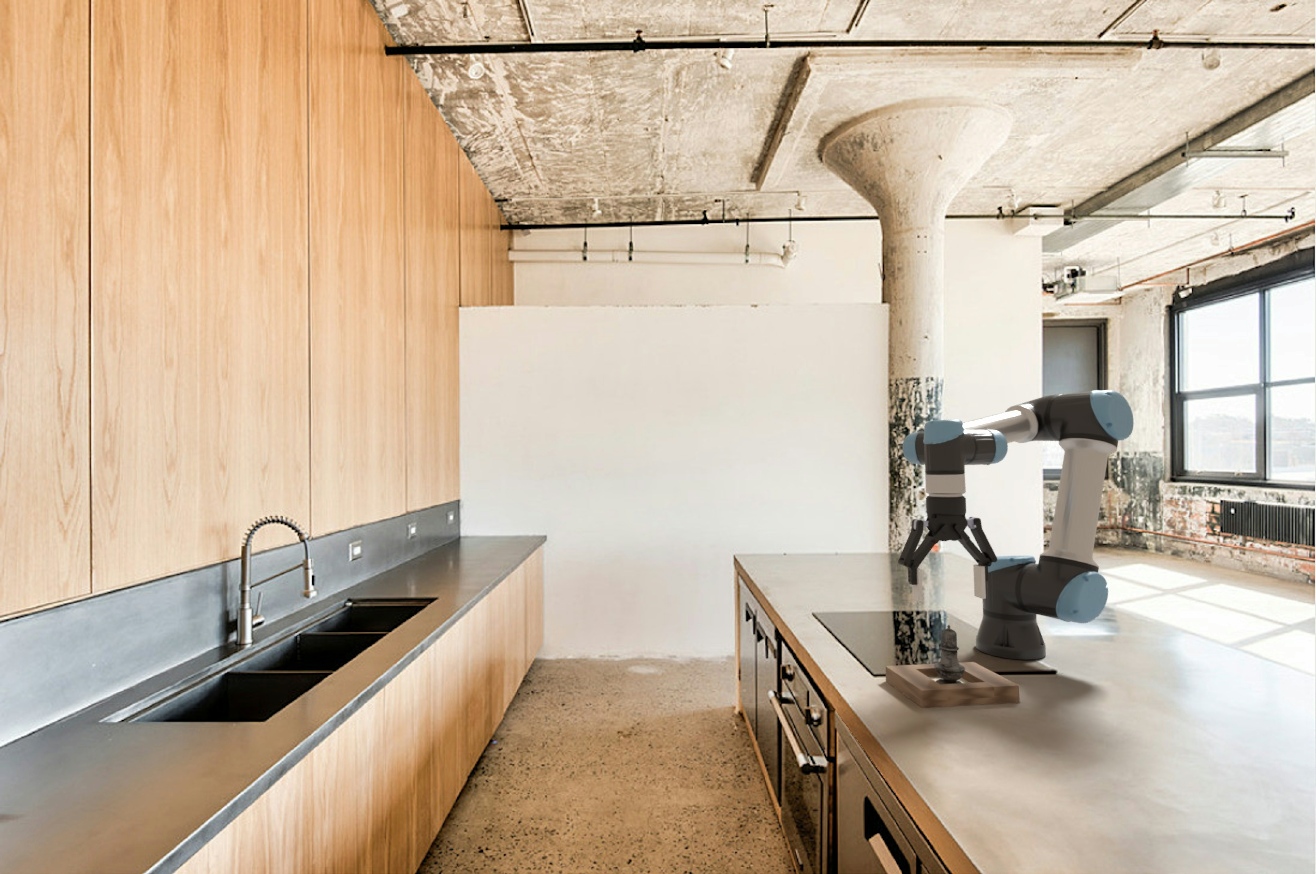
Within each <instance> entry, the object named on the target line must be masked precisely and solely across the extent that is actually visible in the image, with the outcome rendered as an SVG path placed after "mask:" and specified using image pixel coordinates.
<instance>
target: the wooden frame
mask: <svg viewBox="0 0 1316 874" xmlns="http://www.w3.org/2000/svg"><path fill="white" fill-rule="evenodd" d="M934 664H935V663H925V664H924V663H923V664H903V665H901V664H900V665H885V682H886V683H888V684H889V685H890V686H892V688H895V689H896V690H897V691H898V692H900V693H901V694H903V695H905V696H906V697H907V698H908V699H910V700H912V701H913V702H914V703H916V704H917V705H918V707H921V708H936V707H937V708H940V707H957V706H960V707H961V706H975V705H976V706H977V705H990V704H991V705H993V704H1010V703H1012V704H1013V703H1020V701H1021V699H1020V698H1021V696H1020V684H1017V683H1015V682H1013V681H1011V680H1009V679H1007V678H1005V677H1004V676H1002V675H999V674H998V673H996V672H994V671H992V670H990V669H988V668H986V667H984V666H983V665H980V664H978V663H976V662H975V661H965V662H964V661H963V662H959V664H960V665H962V666H964V667H965V670H964V673H963V676H962V678H960V679H959V680H958V681H960V682H961V683H958V684H939V683H937V682H936V681H937V680H939V679H941V677H940V676H939V675H938V674H937V672H936V667H934Z"/></svg>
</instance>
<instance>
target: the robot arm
mask: <svg viewBox="0 0 1316 874" xmlns="http://www.w3.org/2000/svg"><path fill="white" fill-rule="evenodd" d="M1134 424H1135V423H1134V415H1133V411H1132V409H1131V406H1130V404H1129V402H1128V400H1127V399H1126V398H1125V396H1123V395H1122V394H1121V393H1120V392H1118V391H1116V390H1112V389H1110V390H1109V389H1105V390H1102V389H1101V390H1099V389H1095V390H1091V391H1090V390H1089V391H1080V392H1079V391H1078V392H1070V393H1060V394H1059V393H1057V394H1056V393H1055V394H1049V395H1046V396H1045V395H1044V396H1042V397H1038V398H1034V399H1032V400H1028V401H1026V402H1022V403H1019V404H1016V405H1013V406H1010V407H1008V408H1007V409H1006V410H1005V411H1004V412H1000V413H997V414H992V415H989V416H985V417H980V418H977V419H973V420H968V421H964V422H963V421H962V420H960V419H936V420H934V419H933V420H928V421H926V423H924V426H923V429H924V430H923V431H921V430H920V431H918V432H911V433H908V435H906V436H905V438H904V440H903V442H902V454H903V456H904V458H905V459H906V460H907V462H909V463H910V464H914V465H920V466H924V467H925V468H924V469H925V470H924V472H925V474H924V476H925V478H924V479H925V492H926V494H928V495H927V496H926V497H925V509H926V510H925V511H926V516H927V517H926V519H925V520H922V519H917V518H913V519H912V522H911V530H910V532H909V534H908V537H907V539H906V542H905V544H904V546H903V549H902V550H901V553H900V556H899V558H898V561H897V562H898V564H899V565H901V566H902V567H903V566H904V567H906V568H907V578H908V579H907V582H908V584H910V585H911V589H912V590H911V592H912V600H914V601H916V602H918V603H923V601H924V598H923V595H924V594H923V569H921V568H919V567H920V565H921V564H922V563H923V561H924V560H925V558H926V557H927V556H928V554H929V553H930V552H931V550H932V549H933V548H934V546H935V545H937V544H938V543H939V542H947V541H951V542H952V541H953V542H957V541H958V542H959V543H960V544H961V545H962V547H963V548H964V549H965V551H967V553H968V554H969V555H970V556H971V557H972V559H974V561H975V562H976V563H977V564H973V565H972V566H973V591H974V593H973V594H974V597H975V598H979V599H982V619H981V622H980V624H979V628H978V631H977V634H976V636H975V648H976V649H977V650H978V651H979V652H981V653H984V654H987V655H990V656H995V657H999V658H1004V659H1011V660H1012V659H1013V660H1027V661H1028V660H1039V659H1042V658H1045V657H1046V655H1047V647H1046V643H1045V640H1044V638H1043V635H1042V632H1041V630H1040V627H1039V625H1038V622H1037V621H1038V620H1037V616H1038V615H1039V616H1042V617H1043V616H1044V617H1047V618H1052V619H1055V620H1060V621H1063V622H1066V623H1077V624H1088V623H1091V622H1092V621H1094V620H1095V619H1096V618H1098V617H1099V616H1100V615H1101V614H1102V612H1103V611H1104V609H1105V607H1106V605H1107V601H1108V597H1109V588H1108V586H1107V585H1108V582H1107V580H1106V578H1105V576H1103V575H1102V574H1101V573H1099V568H1100V566H1099V565H1098V563H1097V562H1096V560H1094V558H1093V554H1094V549H1095V542H1096V535H1097V530H1098V522H1099V517H1100V516H1099V515H1100V509H1101V504H1102V503H1101V502H1102V496H1103V492H1104V491H1103V490H1104V484H1105V477H1106V472H1107V471H1106V470H1107V465H1108V458H1109V456H1111V455H1112V454H1114V453H1116V452H1117V450H1118V447H1119V446H1118V444H1119V441H1124V440H1125V439H1128V438H1129V437H1130V435H1131V434H1132V433H1133V430H1134ZM1035 441H1036V442H1043V441H1044V442H1047V441H1048V442H1058V445H1059V446H1060V447H1061V449H1062V450H1063V451H1064V454H1063V458H1062V459H1063V461H1062V465H1061V467H1062V468H1061V470H1060V471H1061V473H1060V478H1059V483H1058V491H1057V495H1056V497H1057V498H1056V500H1055V501H1056V502H1055V510H1054V514H1053V520H1052V527H1051V531H1050V539H1049V544H1048V549H1047V550H1045V551H1044V552H1041V553H1040V554H1039V559H1038V563H1037V560H1036V558H1035V556H1033V555H1003V556H1002V555H1000V556H997V555H996V553H995V551H994V549H993V547H992V545H991V543H990V542H989V539H988V537H987V535H986V534H985V532H984V530H983V526H982V520H981V518H980V517H976V516H975V517H974V516H970V517H968V518H966V513H967V501H966V499H967V498H966V496H964V494H966V490H967V489H966V477H965V476H966V471H965V469H966V468H965V467H966V466H978V465H984V466H985V465H986V466H990V465H993V464H998V463H1000V462H1001V461H1003V460H1004V459H1005V457H1006V456H1007V453H1008V447H1009V445H1008V444H1010V443H1013V442H1015V443H1018V444H1024V443H1025V444H1026V443H1028V442H1035ZM967 527H968V529H969V530H970V533H971V534H972V536H973V538H974V539H975V540H974V541H975V542H976V544H977V545H975V543H974V542H973V541H972V540H971V538H970V536H969V535H968V533H967V532H966V531H965V530H966V528H967ZM926 528H927V530H928V531H927V533H926V534H925V535H924V537H923V540H922V542H921V543H920V541H921V539H922V535H923V533H924V531H925V530H926ZM919 543H920V545H919ZM977 546H978V547H979V548H978V547H977Z"/></svg>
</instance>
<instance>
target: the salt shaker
mask: <svg viewBox="0 0 1316 874" xmlns="http://www.w3.org/2000/svg"><path fill="white" fill-rule="evenodd" d="M946 627H947V628H944V629H942V630H941V633H940V635H941V636H940V637H941V639H940V640H941V643H940V644H941V645H939V648H940V651H941V652H940V660H939V661H938V662H935V663H933V664H934V667H936V672H937V674H938V675H939V676H940V677H941V679H939V680H937V681H936V682H937V683H939V684H958V683H961V682H960V681H958V680H959V679H960V678H962V676H963V673H964V670H965V667H964V666H962V665H960V664H959V663H960V662H959V659H958V651H959V650H960V647H958V642H957V641H958V639H957V636H958V635H957V634H958V633H957V632H956V631H955V630H954V629H952V628H951V625H950V624H948V625H947V626H946Z"/></svg>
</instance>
